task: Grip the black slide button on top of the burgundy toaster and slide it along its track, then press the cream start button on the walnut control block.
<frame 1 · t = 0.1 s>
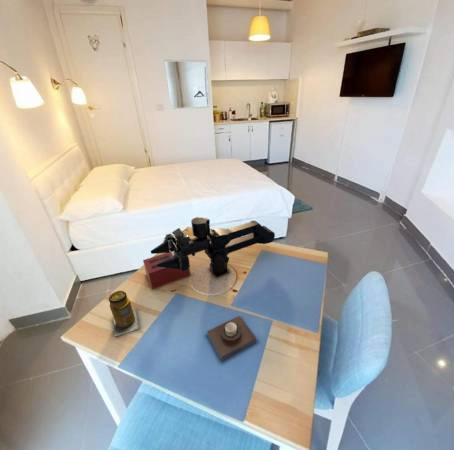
hand: (154, 258, 90), 17 cm above the table, tool horizontal, fingers open, 9 cm apart
control block: (231, 339, 79), on the table
start button: (230, 329, 77), point 5 cm above the table, slide at 0.1 cm
toaster: (168, 275, 107), on the table
toaster slider: (178, 255, 102), point 10 cm above the table, slide at 0.0 cm
condiment: (125, 323, 85), on the table
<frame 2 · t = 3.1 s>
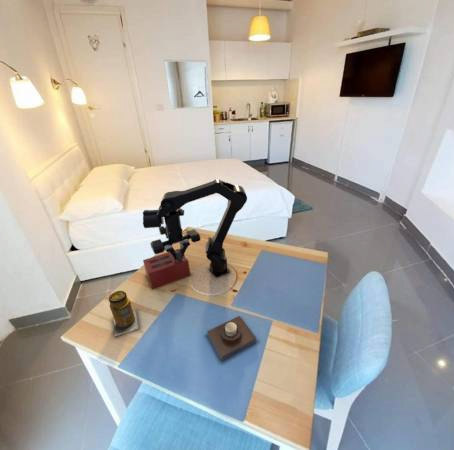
hand: (178, 258, 103), 9 cm above the table, tool pointing down, fingers closed on toaster slider, 2 cm apart
toaster slider: (178, 255, 102), point 10 cm above the table, slide at 0.0 cm, touching gripper
everything else where it was.
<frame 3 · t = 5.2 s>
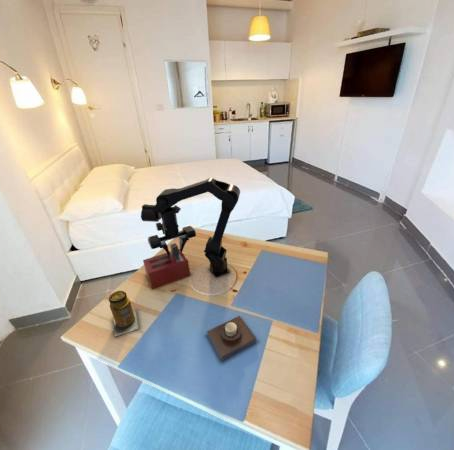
hand: (175, 253, 107), 8 cm above the table, tool pointing down, fingers open, 5 cm apart
toaster slider: (174, 249, 106), point 10 cm above the table, slide at 4.8 cm
everything else where it was.
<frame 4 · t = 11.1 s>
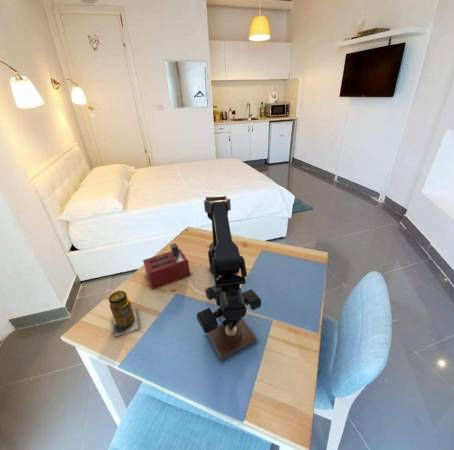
hand: (230, 328, 77), 5 cm above the table, tool pointing down, fingers closed, pressing on start button
start button: (231, 331, 77), point 4 cm above the table, slide at -0.7 cm, touching gripper
everything else where it was.
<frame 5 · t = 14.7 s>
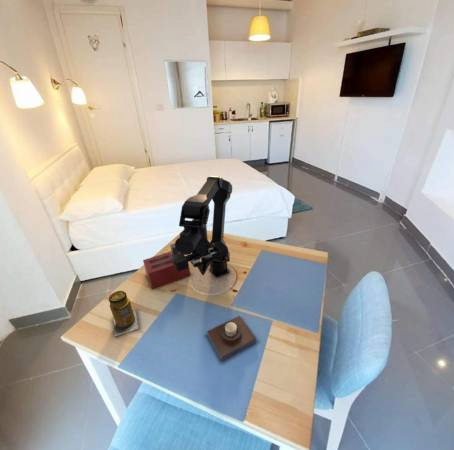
hand: (202, 274, 88), 12 cm above the table, tool pointing down, fingers closed
start button: (230, 329, 77), point 5 cm above the table, slide at 0.1 cm
everything else where it was.
at the end: toaster slider slide at 4.8 cm; start button pushed in 1.1 cm at the most during the clip, back to where it started at the end; start button slide at 0.1 cm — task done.
